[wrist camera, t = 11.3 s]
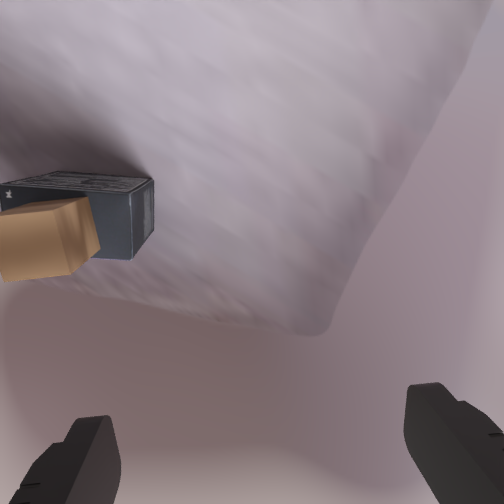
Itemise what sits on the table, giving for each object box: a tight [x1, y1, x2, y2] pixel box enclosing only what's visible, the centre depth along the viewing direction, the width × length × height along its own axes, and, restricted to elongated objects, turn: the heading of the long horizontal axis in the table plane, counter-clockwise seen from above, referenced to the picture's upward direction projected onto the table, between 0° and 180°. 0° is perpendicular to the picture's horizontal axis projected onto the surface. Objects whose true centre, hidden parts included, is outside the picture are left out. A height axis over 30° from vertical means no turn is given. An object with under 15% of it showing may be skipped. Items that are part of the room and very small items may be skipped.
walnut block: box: [0, 197, 101, 282], centre depth 26 cm, size 4×4×6 cm
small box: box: [0, 171, 154, 261], centre depth 33 cm, size 11×6×10 cm, turn 85°
